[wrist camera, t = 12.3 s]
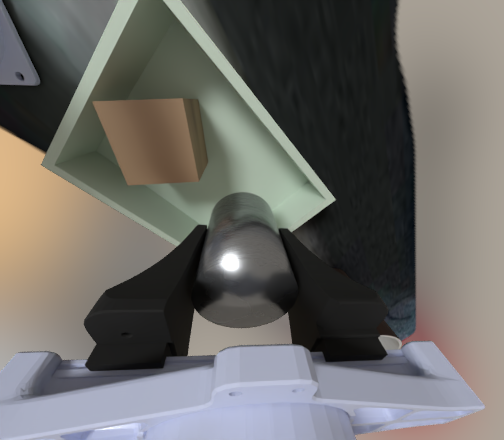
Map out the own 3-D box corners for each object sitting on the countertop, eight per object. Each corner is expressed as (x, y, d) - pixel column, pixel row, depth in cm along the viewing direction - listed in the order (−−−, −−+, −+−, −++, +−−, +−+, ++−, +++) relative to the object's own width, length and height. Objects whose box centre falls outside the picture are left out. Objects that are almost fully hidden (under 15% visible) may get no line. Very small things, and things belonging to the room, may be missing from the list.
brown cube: (154, 164, 17) (127, 185, 13) (134, 101, 14) (91, 101, 10) (208, 162, 17) (199, 181, 13) (198, 99, 15) (182, 98, 10)
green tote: (90, 149, 17) (40, 165, 12) (175, 3, 12) (142, -49, 8) (230, 247, 24) (229, 278, 20) (314, 178, 20) (335, 199, 15)
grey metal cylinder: (197, 224, 14) (169, 304, 8) (239, 178, 13) (240, 238, 7) (244, 254, 16) (248, 337, 10) (286, 218, 15) (319, 292, 9)
